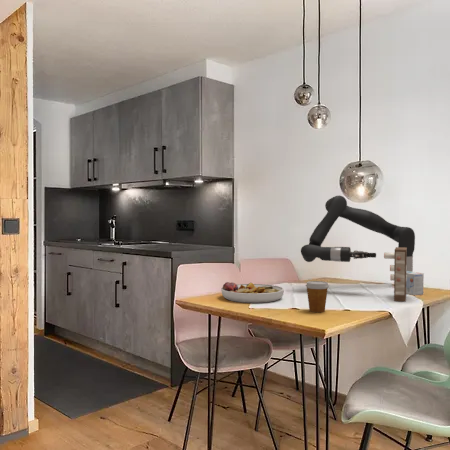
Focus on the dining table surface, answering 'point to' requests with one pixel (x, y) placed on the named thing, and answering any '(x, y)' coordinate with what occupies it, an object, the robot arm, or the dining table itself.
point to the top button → (389, 255)
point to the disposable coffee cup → (317, 295)
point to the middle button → (393, 267)
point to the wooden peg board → (400, 274)
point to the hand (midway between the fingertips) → (376, 255)
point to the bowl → (251, 292)
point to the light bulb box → (414, 283)
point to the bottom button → (393, 277)
